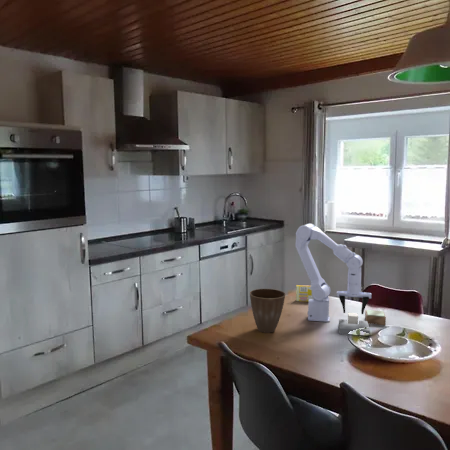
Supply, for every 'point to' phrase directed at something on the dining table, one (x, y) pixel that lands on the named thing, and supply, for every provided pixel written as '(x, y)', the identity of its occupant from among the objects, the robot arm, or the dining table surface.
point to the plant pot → (267, 308)
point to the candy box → (303, 293)
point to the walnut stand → (375, 317)
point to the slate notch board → (352, 326)
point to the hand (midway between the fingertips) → (353, 313)
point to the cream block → (352, 318)
